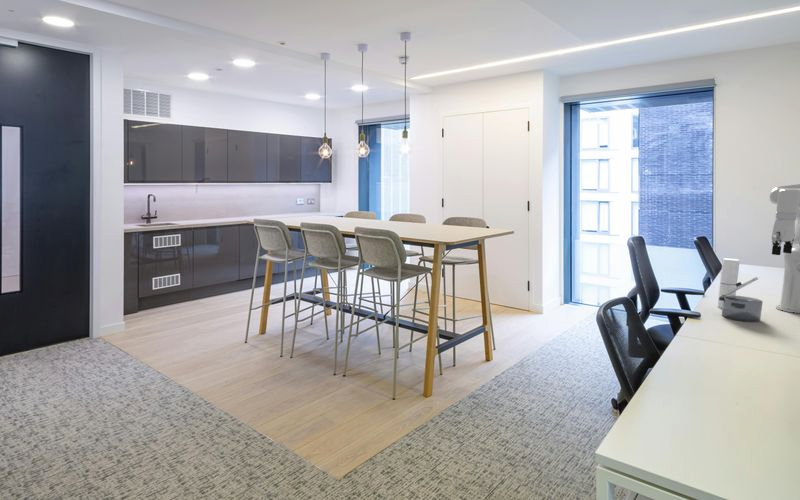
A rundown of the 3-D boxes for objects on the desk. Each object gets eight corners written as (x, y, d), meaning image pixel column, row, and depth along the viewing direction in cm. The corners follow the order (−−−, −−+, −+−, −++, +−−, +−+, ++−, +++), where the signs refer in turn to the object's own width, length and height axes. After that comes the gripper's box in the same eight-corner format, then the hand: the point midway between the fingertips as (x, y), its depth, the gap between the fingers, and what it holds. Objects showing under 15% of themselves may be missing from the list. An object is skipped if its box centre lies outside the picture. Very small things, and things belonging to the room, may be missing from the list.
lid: (728, 293, 241) (725, 289, 242) (761, 277, 231) (757, 272, 232) (720, 298, 230) (716, 293, 231) (754, 281, 221) (750, 276, 221)
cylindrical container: (719, 308, 249) (725, 259, 246) (715, 305, 256) (720, 258, 253) (736, 309, 247) (741, 260, 244) (731, 306, 254) (736, 258, 251)
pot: (724, 310, 245) (726, 292, 244) (764, 317, 233) (766, 298, 232) (713, 317, 231) (715, 298, 230) (755, 325, 220) (757, 305, 219)
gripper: (786, 215, 230) (782, 251, 232) (766, 216, 222) (762, 254, 224) (805, 216, 223) (800, 253, 226) (785, 218, 215) (781, 256, 218)
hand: (781, 253), depth 225 cm, fingers open, 9 cm apart
